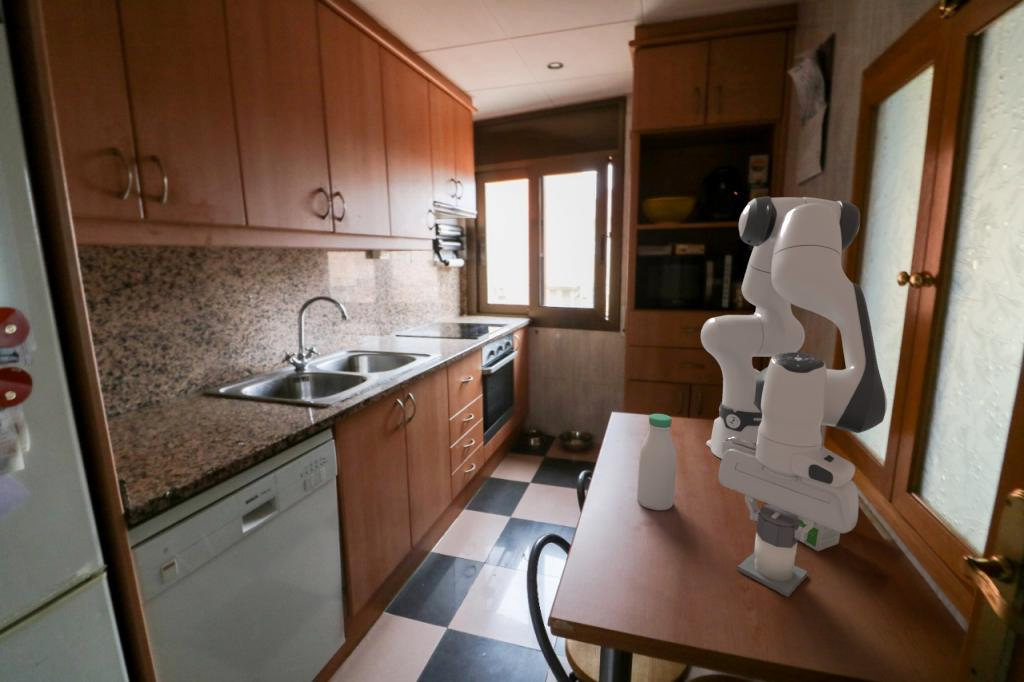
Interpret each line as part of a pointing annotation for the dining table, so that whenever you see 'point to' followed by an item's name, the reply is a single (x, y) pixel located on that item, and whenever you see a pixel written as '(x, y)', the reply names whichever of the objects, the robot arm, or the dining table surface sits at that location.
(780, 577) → the jar
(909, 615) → the dining table surface
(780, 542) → the cap
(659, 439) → the milk bottle
